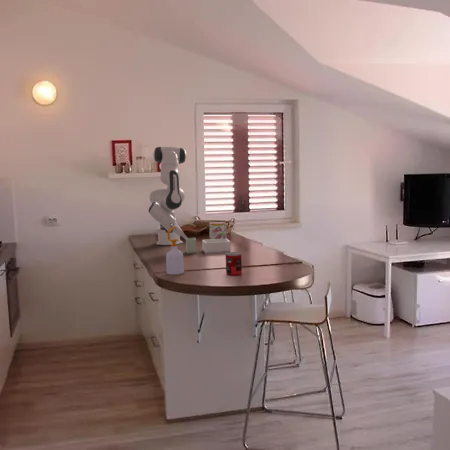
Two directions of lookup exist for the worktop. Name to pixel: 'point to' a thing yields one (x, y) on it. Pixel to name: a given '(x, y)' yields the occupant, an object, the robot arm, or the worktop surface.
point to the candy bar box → (217, 230)
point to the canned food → (233, 264)
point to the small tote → (191, 245)
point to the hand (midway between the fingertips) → (185, 237)
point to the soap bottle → (174, 257)
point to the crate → (216, 246)
